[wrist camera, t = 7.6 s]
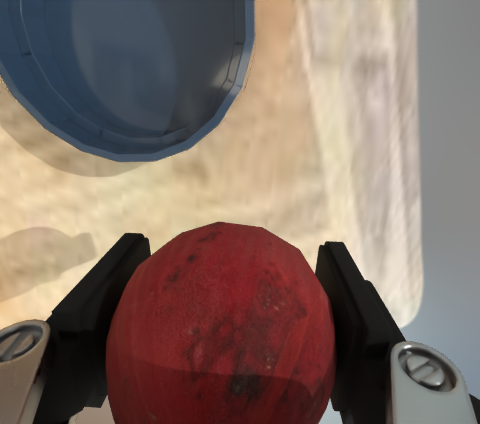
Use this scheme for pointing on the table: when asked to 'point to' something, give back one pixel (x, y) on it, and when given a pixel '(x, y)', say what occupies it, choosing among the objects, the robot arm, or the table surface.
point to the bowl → (127, 70)
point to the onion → (222, 334)
